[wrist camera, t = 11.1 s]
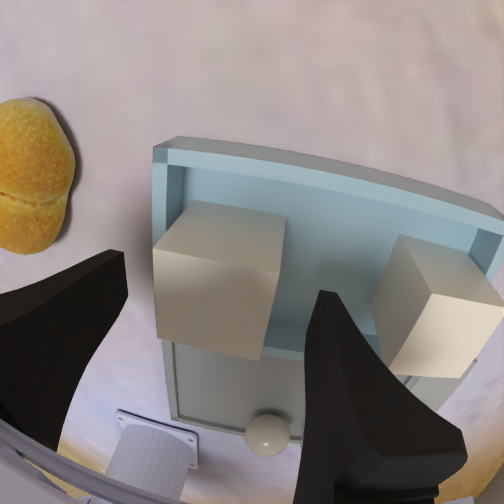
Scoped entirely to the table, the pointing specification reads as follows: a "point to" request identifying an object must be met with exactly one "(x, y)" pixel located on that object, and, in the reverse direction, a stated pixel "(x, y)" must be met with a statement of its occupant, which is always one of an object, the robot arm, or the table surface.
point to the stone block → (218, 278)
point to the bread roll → (32, 176)
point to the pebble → (267, 435)
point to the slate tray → (257, 389)
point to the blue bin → (321, 223)
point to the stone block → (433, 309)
